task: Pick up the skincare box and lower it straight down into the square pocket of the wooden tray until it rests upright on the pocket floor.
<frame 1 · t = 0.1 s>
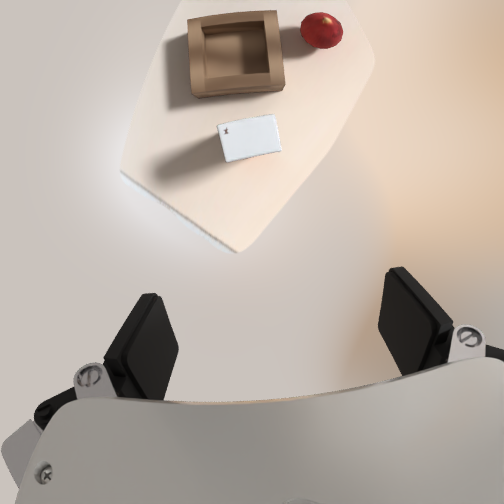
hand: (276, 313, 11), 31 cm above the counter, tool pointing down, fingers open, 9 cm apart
wooden tray: (236, 57, 31), on the counter
onion: (316, 39, 30), on the counter
skincare box: (250, 138, 37), on the counter
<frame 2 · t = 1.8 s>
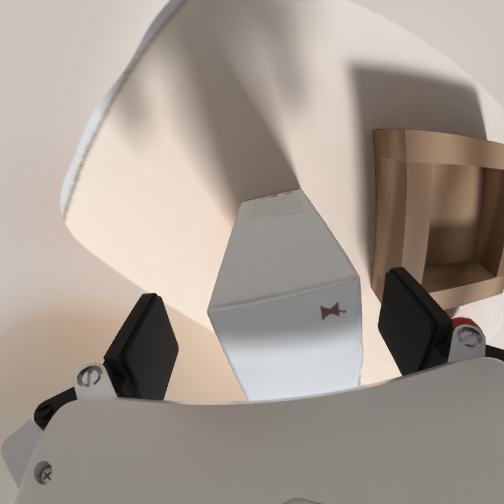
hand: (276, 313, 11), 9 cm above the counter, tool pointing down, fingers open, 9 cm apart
wooden tray: (440, 211, 17), on the counter
skincare box: (279, 235, 19), on the counter
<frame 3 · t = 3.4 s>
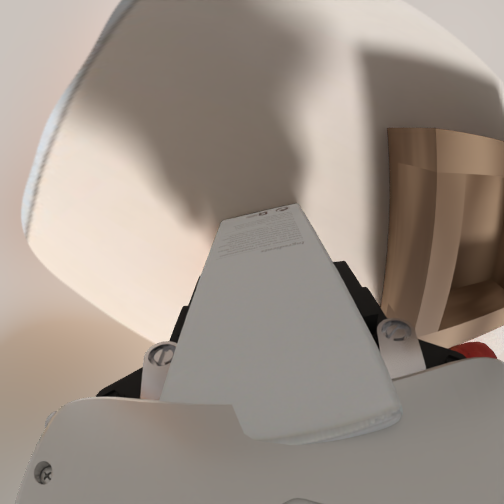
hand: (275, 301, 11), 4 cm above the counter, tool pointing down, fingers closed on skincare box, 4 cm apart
wooden tray: (459, 226, 14), on the counter
onion: (450, 347, 19), on the counter
skincare box: (270, 260, 15), on the counter, touching gripper
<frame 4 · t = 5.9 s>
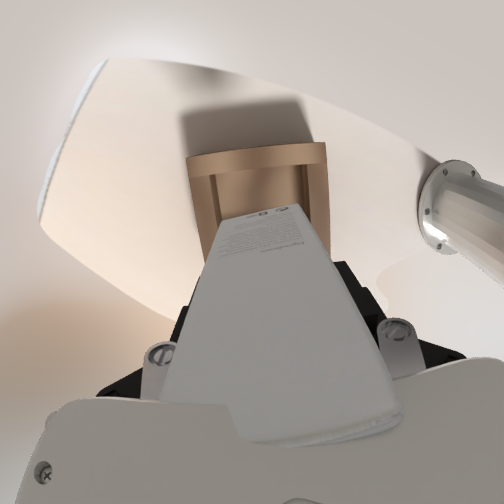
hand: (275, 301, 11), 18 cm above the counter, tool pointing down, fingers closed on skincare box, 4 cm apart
wooden tray: (261, 204, 28), on the counter
skincare box: (270, 260, 15), point 14 cm above the counter, touching gripper
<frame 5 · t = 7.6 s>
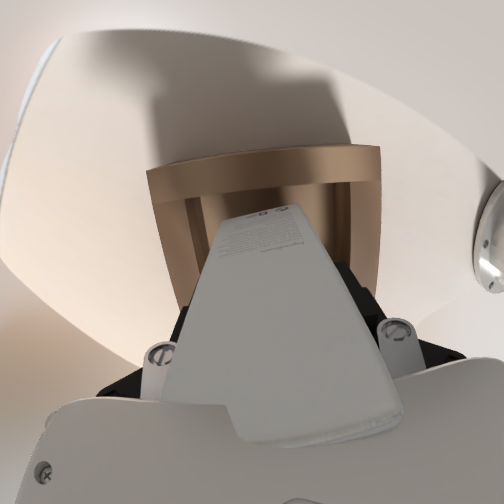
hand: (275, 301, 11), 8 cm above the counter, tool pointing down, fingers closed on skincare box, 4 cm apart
wooden tray: (271, 236, 19), on the counter
skincare box: (270, 260, 15), point 4 cm above the counter, touching gripper
when the fingers open (6 cm above the counter, at t = 8.8 s): skincare box stays where it is, resting on wooden tray.
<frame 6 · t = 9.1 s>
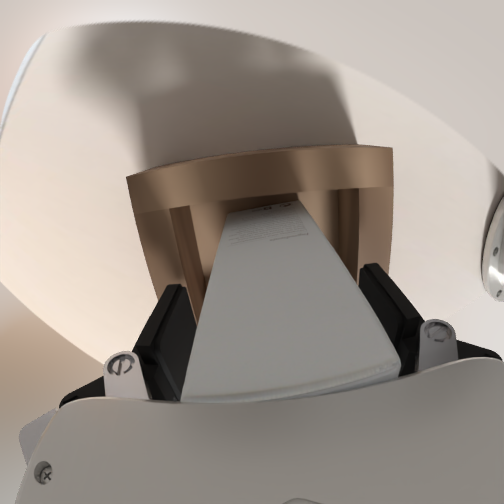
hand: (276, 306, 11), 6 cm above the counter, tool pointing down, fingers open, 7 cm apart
wooden tray: (269, 247, 17), on the counter
skincare box: (271, 252, 16), point 1 cm above the counter, touching wooden tray
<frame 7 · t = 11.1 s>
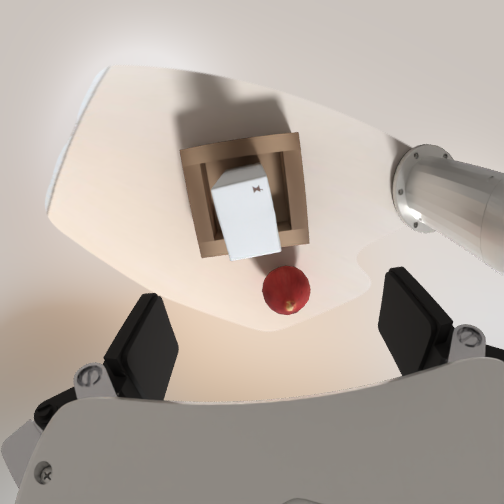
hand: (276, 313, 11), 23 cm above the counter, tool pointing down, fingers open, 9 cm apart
wooden tray: (247, 189, 31), on the counter
onion: (282, 275, 36), on the counter
skincare box: (248, 190, 31), point 1 cm above the counter, touching wooden tray
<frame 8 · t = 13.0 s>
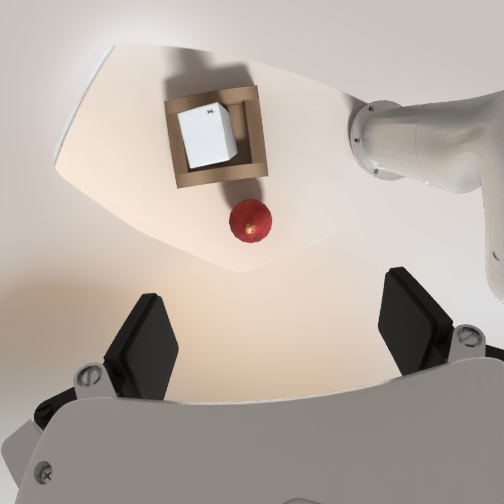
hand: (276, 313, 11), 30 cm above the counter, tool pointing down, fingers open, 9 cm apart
wooden tray: (219, 136, 36), on the counter
onion: (251, 213, 40), on the counter
skincare box: (219, 136, 35), point 1 cm above the counter, touching wooden tray
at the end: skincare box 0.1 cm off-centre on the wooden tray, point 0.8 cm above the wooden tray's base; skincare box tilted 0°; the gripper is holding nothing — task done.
